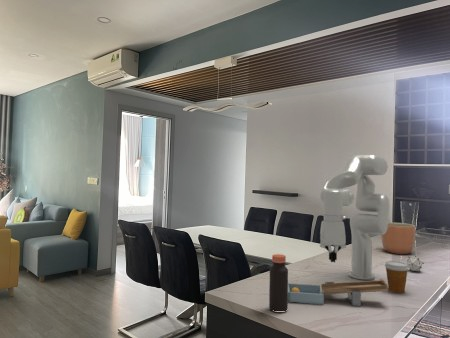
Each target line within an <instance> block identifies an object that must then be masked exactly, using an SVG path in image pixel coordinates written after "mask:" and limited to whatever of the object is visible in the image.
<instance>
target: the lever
mask: <svg viewBox="0 0 450 338" xmlns="http://www.w3.org/2000/svg"><path fill="white" fill-rule="evenodd" d="M320 286H321V290H322V292H323V293H322V294H324V295H337V294H340V295H341V294H348V293H352V291H361V293H376V292H377V293H378V292H389V288H388V282H386V281H385V279H383V278H381V277H380V279H379V280H363V281H348V282H335V281H325V282H324V283H321V285H320Z"/></svg>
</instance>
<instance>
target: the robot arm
mask: <svg viewBox="0 0 450 338" xmlns="http://www.w3.org/2000/svg"><path fill="white" fill-rule="evenodd" d="M388 168H389V167H388V162H387V160H386V159H385V158H384V157H381V156H379V155H376V154H355V155H352V156H350V158H349V159H348V161H347V163H346V164H345V166H344V167H343V170H342V172H341V173H339V174H336V175H335V176H332V177H331V178H330V179H328V180H327V181H326V183H324V185H323V187H322V190H321V192H320V201H321V203H322V204H323V220H321V224H320V230H319V231H320V232H319V241H320V243H319V247H320V248H321V249H322V248H323V249H325V250H327V252H328V260H329V261H330V262H331V263H336V261H337V260H338V259H337V258H338V257H337V256H338V254H337V253H339V251H340V250H344V249H346V248H347V245H346V242H347V241H346V237H347V236H346V230H345V229H346V228H345V223H344V221H343V220H346V216H345V215H343V207H348V206H349V207H350V205H352V204H353V203H354V201H355V208H356V210H357V211H359V212H365V213H354V214H352V215H351V216H350V219H349V226H350V231H351V232H350V233H351V271H349V272H348V274H347V275H348V277H350V278H352V279H357V280H363V281H373V280H375V279H376V275H375V274H374V273H373V269H372V268H373V242H372V239H371V238H370V236H369V235H379V236H380V235H383V234H385V233H386V231H387V227H388V222H389V216H390V215H389V214H390V199H389V197H388V196H387V194H384V193H375V192H376V189H375V188H376V183H375V181H374V180H373V179H372V178H371V177H370V176H384V175H385V174H386V173H387V171H388ZM355 185H356V186H357V187H356V195H355V194H354V192H353V191H352V190H351V189H347V188H350V187H353V186H355ZM355 196H356V197H355ZM370 213H371V214H370ZM372 213H376V214H372ZM332 246H333V250H332Z"/></svg>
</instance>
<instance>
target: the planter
mask: <svg viewBox="0 0 450 338" xmlns="http://www.w3.org/2000/svg"><path fill="white" fill-rule="evenodd" d="M415 240H416V225H414V224H413V223H412V224H410V223H404V222H391V221H390V222H389V221H388V227H387V231H386V233H385V234H383V235H381V243H382V247H383V249H384V250H386V252H388V253H390V254H393V255H394V254H395V255H408V254H410V253H411V252H412V251H413V250H414V247H415V242H416V241H415Z"/></svg>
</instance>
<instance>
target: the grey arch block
mask: <svg viewBox="0 0 450 338" xmlns="http://www.w3.org/2000/svg"><path fill="white" fill-rule="evenodd" d="M361 294H362V292H361V291H352V293H347V299H348V300H349V303H350V305H352V306H351V307H361V306H362V305H361V304H362V303H361V300H362V295H361Z"/></svg>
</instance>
